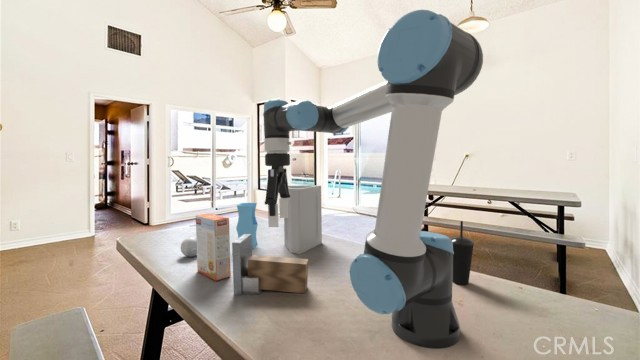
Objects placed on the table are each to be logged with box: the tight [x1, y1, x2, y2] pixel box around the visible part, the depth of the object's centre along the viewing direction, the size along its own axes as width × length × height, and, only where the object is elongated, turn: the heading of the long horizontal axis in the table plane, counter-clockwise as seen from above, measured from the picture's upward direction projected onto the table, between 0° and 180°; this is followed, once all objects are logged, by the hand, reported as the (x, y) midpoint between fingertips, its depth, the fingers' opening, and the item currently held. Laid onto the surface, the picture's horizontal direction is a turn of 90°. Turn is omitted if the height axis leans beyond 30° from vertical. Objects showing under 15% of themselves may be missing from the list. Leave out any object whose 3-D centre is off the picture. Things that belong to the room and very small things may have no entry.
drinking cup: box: [449, 220, 476, 286], centre depth 94 cm, size 8×8×20 cm
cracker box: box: [195, 213, 232, 282], centre depth 103 cm, size 14×6×21 cm, turn 47°
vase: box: [236, 202, 258, 249], centre depth 137 cm, size 8×8×20 cm
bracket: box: [231, 234, 263, 296], centre depth 91 cm, size 10×7×16 cm
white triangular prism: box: [283, 184, 323, 255], centre depth 136 cm, size 19×15×28 cm
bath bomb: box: [180, 237, 197, 258], centre depth 124 cm, size 8×8×8 cm
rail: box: [248, 254, 309, 294], centre depth 91 cm, size 18×4×9 cm, turn 84°
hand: (279, 222), depth 90 cm, fingers open, 13 cm apart
